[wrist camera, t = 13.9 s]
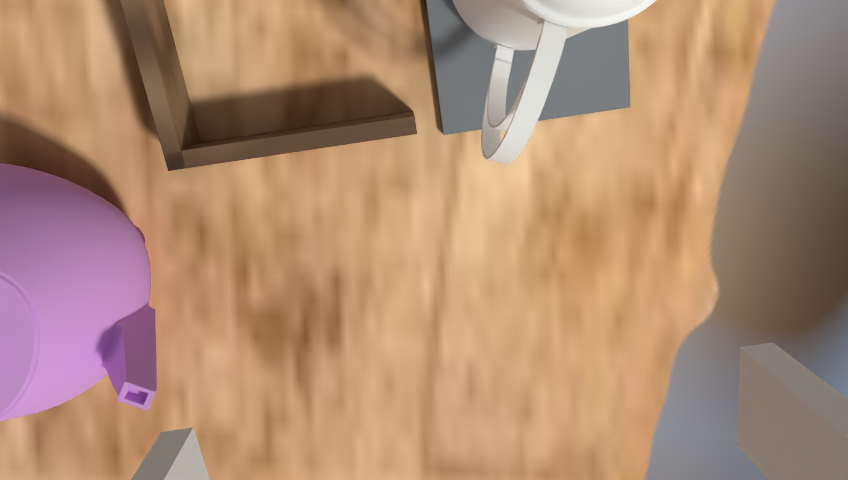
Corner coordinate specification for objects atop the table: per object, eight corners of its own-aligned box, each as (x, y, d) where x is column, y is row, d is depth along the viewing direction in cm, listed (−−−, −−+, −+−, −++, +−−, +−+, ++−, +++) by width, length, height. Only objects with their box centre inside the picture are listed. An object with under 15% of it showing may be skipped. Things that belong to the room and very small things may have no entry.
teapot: (169, 427, 50) (76, 576, 35) (-71, 344, 47) (-280, 471, 32) (246, 230, 45) (174, 311, 30) (-17, 122, 41) (-237, 155, 27)
